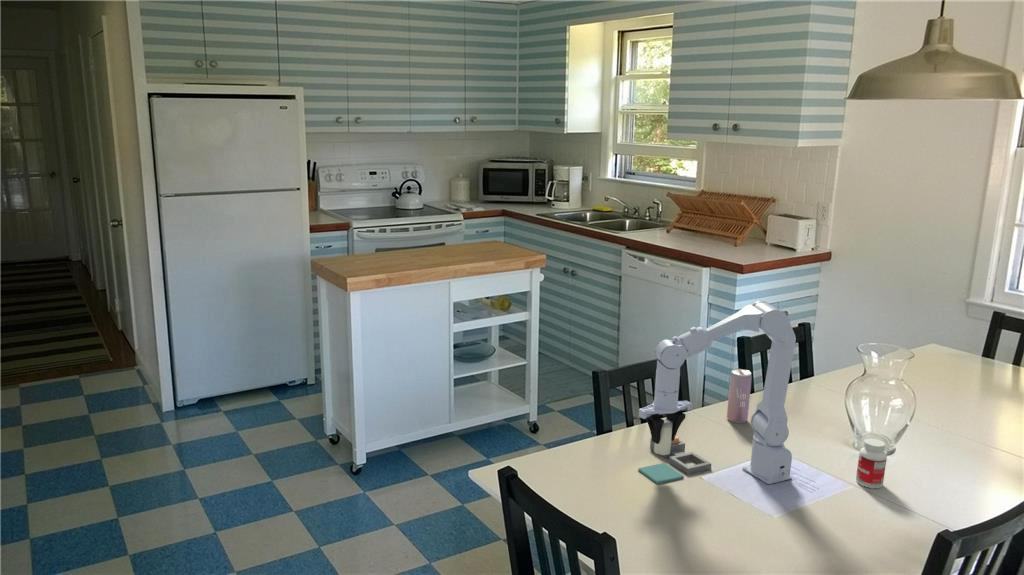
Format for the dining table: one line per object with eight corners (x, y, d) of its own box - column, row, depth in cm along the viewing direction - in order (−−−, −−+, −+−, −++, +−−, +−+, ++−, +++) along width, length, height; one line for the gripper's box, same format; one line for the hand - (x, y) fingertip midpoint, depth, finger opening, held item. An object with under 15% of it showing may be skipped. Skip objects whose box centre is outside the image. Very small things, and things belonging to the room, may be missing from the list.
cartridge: (673, 453, 192) (675, 423, 190) (660, 456, 190) (662, 425, 188) (663, 447, 195) (665, 417, 194) (650, 449, 194) (652, 419, 192)
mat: (683, 478, 192) (683, 475, 192) (657, 484, 189) (657, 481, 189) (663, 464, 199) (664, 462, 199) (638, 470, 196) (638, 468, 196)
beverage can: (745, 416, 233) (749, 369, 230) (749, 424, 227) (753, 375, 224) (725, 415, 233) (729, 368, 230) (728, 423, 228) (732, 374, 224)
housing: (710, 469, 198) (711, 458, 197) (687, 474, 194) (688, 463, 194) (670, 444, 212) (671, 433, 211) (648, 448, 209) (649, 438, 208)
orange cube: (677, 451, 207) (678, 437, 206) (665, 454, 205) (666, 440, 204) (668, 446, 210) (669, 432, 209) (656, 448, 208) (657, 434, 208)
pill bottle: (850, 478, 195) (856, 437, 192) (873, 477, 195) (879, 436, 193) (864, 489, 189) (869, 447, 186) (887, 489, 189) (893, 447, 187)
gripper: (680, 380, 196) (676, 430, 199) (632, 387, 189) (629, 439, 192) (698, 389, 190) (694, 440, 193) (650, 397, 183) (646, 450, 186)
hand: (663, 440), depth 192 cm, fingers closed on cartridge, 4 cm apart
